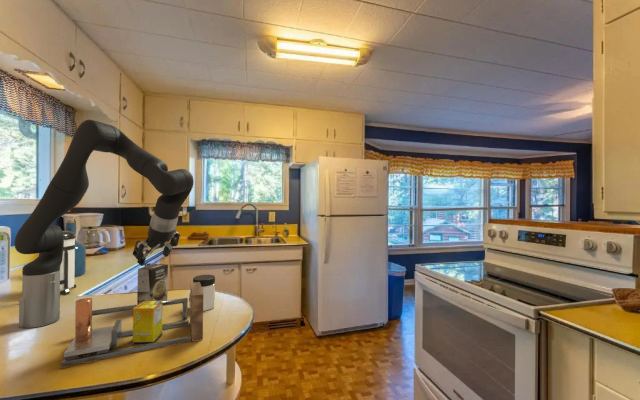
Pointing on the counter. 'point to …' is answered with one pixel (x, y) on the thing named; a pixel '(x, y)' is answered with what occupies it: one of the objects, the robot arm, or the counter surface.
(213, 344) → the counter surface
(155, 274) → the coffee box
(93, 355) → the track
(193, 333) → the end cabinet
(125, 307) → the handrail
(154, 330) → the supplement box
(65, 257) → the coffee press
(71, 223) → the teal bottle
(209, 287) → the jar
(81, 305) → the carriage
